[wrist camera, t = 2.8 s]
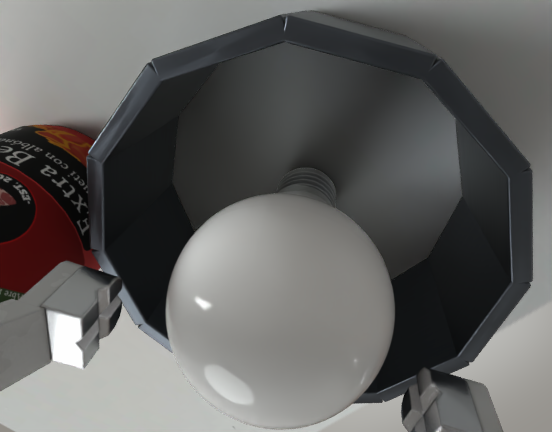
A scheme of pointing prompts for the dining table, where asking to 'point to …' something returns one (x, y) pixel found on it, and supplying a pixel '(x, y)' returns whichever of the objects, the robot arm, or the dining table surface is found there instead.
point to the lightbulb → (281, 307)
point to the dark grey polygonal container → (407, 287)
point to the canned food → (42, 205)
